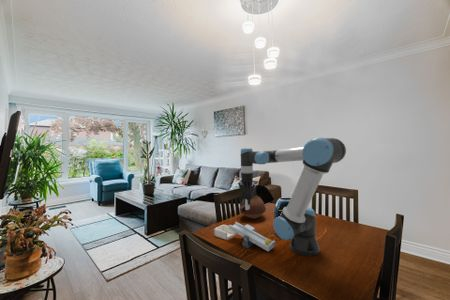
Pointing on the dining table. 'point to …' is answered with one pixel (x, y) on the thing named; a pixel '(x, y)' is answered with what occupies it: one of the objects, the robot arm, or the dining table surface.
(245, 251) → the dining table surface
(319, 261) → the dining table surface
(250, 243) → the trunnion stand
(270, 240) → the ball
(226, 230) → the dish
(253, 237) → the seesaw
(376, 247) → the dining table surface
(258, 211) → the vase
